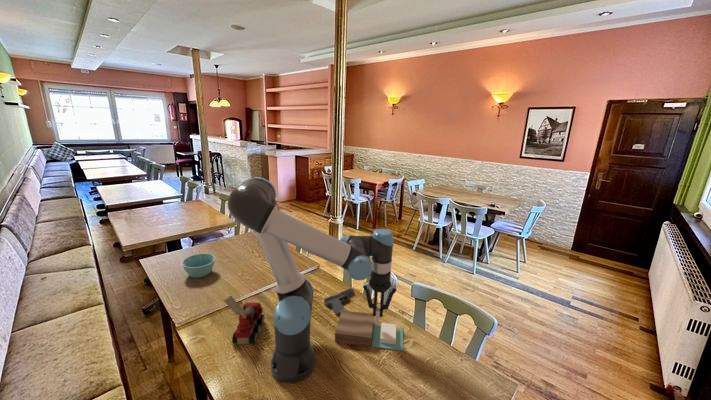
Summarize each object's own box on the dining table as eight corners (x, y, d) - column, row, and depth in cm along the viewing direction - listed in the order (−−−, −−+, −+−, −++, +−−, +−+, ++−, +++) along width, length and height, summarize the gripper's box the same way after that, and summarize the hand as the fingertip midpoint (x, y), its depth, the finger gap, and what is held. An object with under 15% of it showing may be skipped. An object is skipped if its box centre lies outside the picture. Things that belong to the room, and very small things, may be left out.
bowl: (219, 276, 152) (217, 262, 150) (184, 284, 143) (182, 270, 141) (214, 264, 164) (212, 251, 162) (182, 271, 156) (180, 257, 154)
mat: (403, 351, 108) (403, 350, 108) (371, 346, 109) (371, 346, 109) (402, 329, 119) (402, 328, 119) (374, 325, 121) (374, 324, 120)
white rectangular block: (380, 338, 110) (379, 342, 111) (395, 340, 110) (395, 344, 110) (381, 322, 119) (381, 326, 120) (395, 324, 118) (395, 328, 119)
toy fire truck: (265, 319, 121) (263, 282, 117) (254, 347, 106) (251, 306, 102) (238, 319, 121) (235, 282, 116) (223, 347, 106) (219, 306, 101)
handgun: (366, 299, 136) (350, 286, 144) (337, 313, 124) (321, 298, 133) (365, 304, 137) (349, 291, 145) (337, 318, 125) (321, 303, 133)
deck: (370, 346, 109) (371, 337, 108) (334, 341, 111) (335, 333, 110) (373, 322, 122) (374, 314, 121) (341, 318, 124) (341, 310, 123)
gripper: (398, 266, 111) (393, 318, 117) (364, 263, 112) (362, 314, 119) (398, 276, 104) (393, 331, 110) (362, 272, 105) (359, 327, 111)
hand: (377, 322), depth 114 cm, fingers closed
